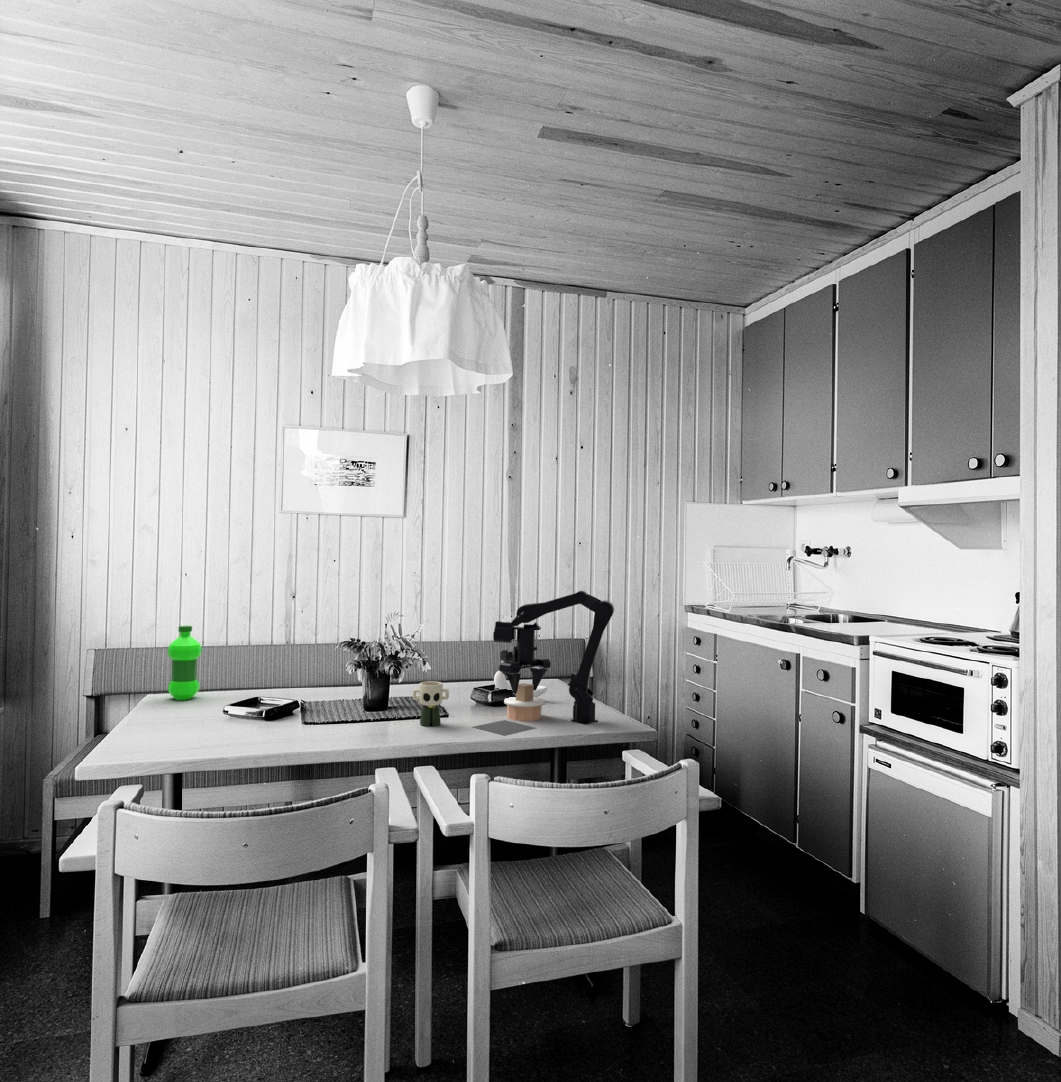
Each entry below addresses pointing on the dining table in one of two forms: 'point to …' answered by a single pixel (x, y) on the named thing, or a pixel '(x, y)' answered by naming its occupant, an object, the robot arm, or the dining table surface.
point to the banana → (503, 684)
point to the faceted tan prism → (524, 713)
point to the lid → (524, 697)
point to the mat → (504, 727)
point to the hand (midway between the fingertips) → (524, 692)
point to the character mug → (430, 701)
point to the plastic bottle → (184, 665)
